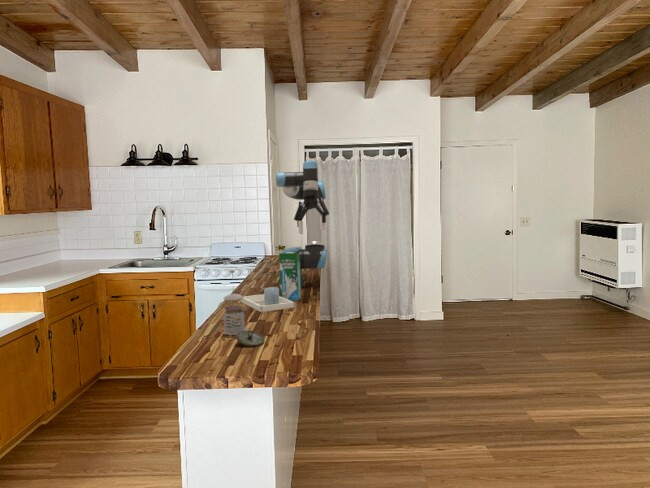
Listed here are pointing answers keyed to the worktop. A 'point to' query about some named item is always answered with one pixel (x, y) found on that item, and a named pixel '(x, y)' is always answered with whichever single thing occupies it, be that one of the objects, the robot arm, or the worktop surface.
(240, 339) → the lid
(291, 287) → the milk carton
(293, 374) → the worktop surface
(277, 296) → the mug
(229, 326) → the french press
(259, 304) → the tray
